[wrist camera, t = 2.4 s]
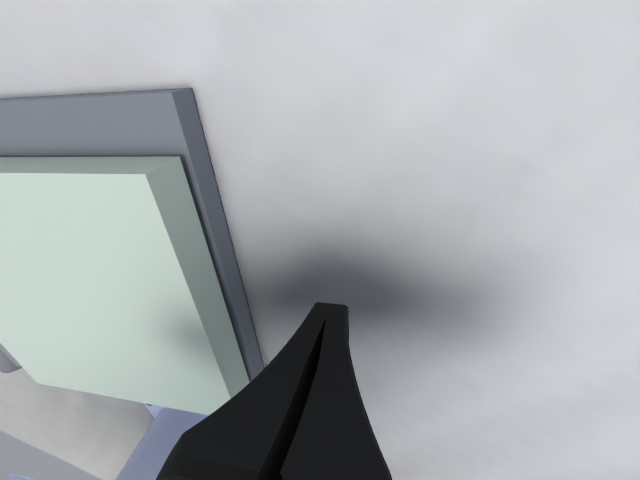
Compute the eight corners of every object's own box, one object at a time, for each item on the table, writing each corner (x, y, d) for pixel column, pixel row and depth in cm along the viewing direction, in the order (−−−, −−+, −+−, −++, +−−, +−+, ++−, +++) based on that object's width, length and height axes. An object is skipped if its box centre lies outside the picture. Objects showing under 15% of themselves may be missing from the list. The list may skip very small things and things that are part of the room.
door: (251, 389, 18) (239, 421, 17) (25, 352, 22) (-3, 375, 20) (179, 156, 11) (145, 174, 9) (-147, 157, 14) (-209, 170, 13)
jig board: (268, 387, 20) (247, 445, 17) (-23, 340, 26) (-77, 379, 23) (192, 88, 11) (115, 104, 8) (-244, 112, 16) (-388, 127, 13)
